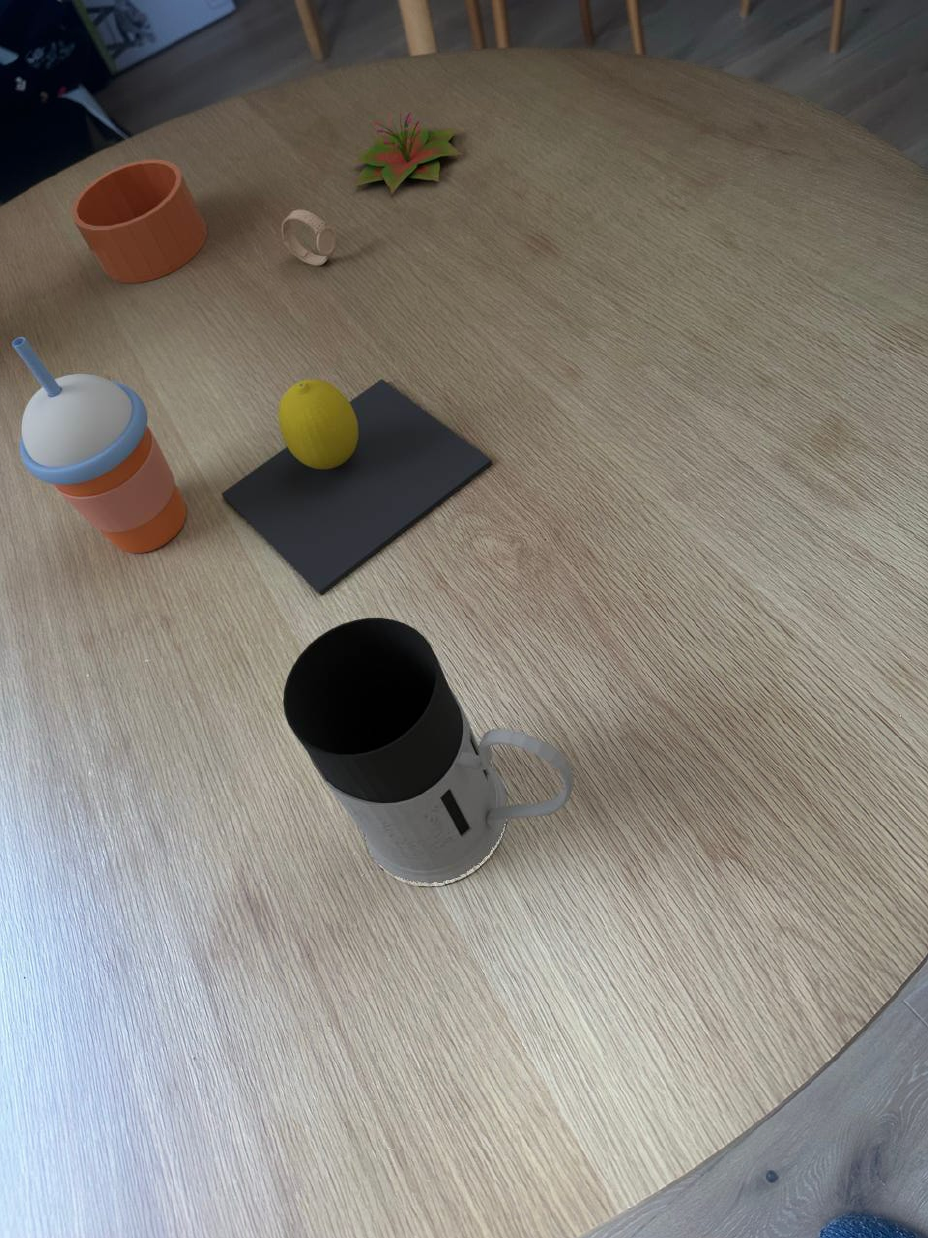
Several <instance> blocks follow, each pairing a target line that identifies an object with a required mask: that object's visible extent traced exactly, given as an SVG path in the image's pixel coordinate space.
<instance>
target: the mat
mask: <svg viewBox="0 0 928 1238" xmlns="http://www.w3.org/2000/svg"><path fill="white" fill-rule="evenodd" d="M349 403H350V405H351V406H352V409H353V411H354V413H355V416H356V419H357V422H358V441H357V445H356V448H355V450H354V452H353V453H352V455H351V456H350V457H349V458H348V460H347V461H346V462H344V463H343V464H341V465H339V466H337V467H335V468H331V469H315V468H312V467H309V466H307V465H305V464H303V463H302V462H300V461H299V460H298V459H297V458H296V457H295V456H294V455H293V454H292V453H291V452H290V450H289V448H288V447H287V446H286V447H285V448H283V449H282V450H280V451H279V452H277V453H276V454H274V455H273V456H272V457H270V458H269V459H267V460H266V461H265V462H263V463H261V465H259V466H258V467H257V468H255V469H254V470H252V471H251V472H250V473H248V474H247V475H245V476H244V477H243V478H241V479H239V480H238V481H237V482H236V483H234V484H233V485H232V486H230V487H229V488H227V489H226V490H224V491H222V493H221V496H222V497H223V499H224V500H226V502H228V504H229V505H230V506H231V507H233V509H234V510H235V511H236V512H237V513H238V514H239V515H240V516H241V517H242V518H243V519H244V520H245V521H246V522H247V524H249V525H250V526H251V527H252V528H253V529H254V530H255V531H256V532H257V533H258V534H259V535H260V536H261V538H263V539H264V540H265V541H266V542H267V543H268V544H269V546H271V547H272V548H273V549H274V550H275V551H276V552H277V553H278V554H279V555H280V556H281V557H282V558H283V559H284V560H285V561H286V562H287V563H288V565H290V566H291V567H292V569H294V570H295V571H296V572H297V573H298V574H299V575H300V577H301V578H303V579H304V580H305V581H306V583H308V584H309V586H310V587H311V588H312V589H313V590H314V591H315V592H316V593H318V595H319V596H322V595H324V594H325V593H326V592H328V591H329V590H330V589H332V588H333V587H334V586H335V585H338V584H339V582H341V581H342V580H344V579H345V578H346V577H348V576H349V575H350V574H352V572H354V571H356V569H358V568H359V567H360V566H362V565H363V564H365V563H366V562H367V561H369V560H370V559H371V558H372V557H373V556H375V555H376V554H377V553H378V552H380V551H382V550H383V549H384V548H385V547H387V546H388V545H389V544H390V543H392V542H393V541H394V540H396V539H397V538H398V537H399V536H401V535H402V534H403V533H405V532H406V531H407V530H409V529H410V528H411V527H413V526H414V525H415V524H416V523H418V522H419V521H420V520H421V519H423V518H424V517H426V516H427V515H428V514H430V513H431V512H432V511H434V510H435V509H436V508H437V507H439V506H440V505H441V504H442V503H444V502H445V501H447V500H448V499H449V498H451V496H453V495H455V494H456V493H457V492H458V491H459V490H461V489H462V488H463V487H465V486H466V485H467V484H468V483H470V482H471V481H473V480H474V479H475V478H476V477H478V475H480V474H481V473H482V472H484V471H486V470H487V469H488V468H490V467H491V466H492V465H493V462H492V459H491V458H489V457H488V456H487V455H486V454H485V453H483V452H481V451H480V450H479V449H477V448H476V447H475V446H473V445H472V444H471V443H469V442H468V441H467V440H465V439H464V438H462V437H461V436H460V435H458V434H457V433H456V432H454V431H453V430H451V429H450V428H449V427H448V426H446V425H445V424H444V423H442V422H441V421H439V420H438V419H437V418H436V417H434V416H433V415H431V414H430V413H428V412H427V411H426V410H424V409H423V408H422V407H421V406H419V405H418V404H416V403H415V402H414V401H413V400H411V399H409V398H408V397H407V396H405V394H403V393H402V392H400V391H399V390H398V389H396V388H395V387H394V386H392V385H391V384H389V382H386V381H385V380H384V379H382V378H381V379H379V380H378V381H377V382H375V383H373V385H371V386H369V387H368V388H367V389H366V390H364V391H363V392H361V393H360V394H358V395H357V396H356V397H354V398H352V399H351V400H350V401H349Z"/></svg>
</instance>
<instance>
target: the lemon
mask: <svg viewBox="0 0 928 1238" xmlns="http://www.w3.org/2000/svg"><path fill="white" fill-rule="evenodd" d="M349 402H350V401H349V400H348V399H347V397H346V396H345V395H344V393H342V392H341V390H340V389H338V388H337V386H335V385H334V384H332V383H330V382H329V381H326V380H322V379H319V378H318V379H317V378H314V379H312V378H308V379H303V380H301V381H298V382H296V383H294V384H293V385H291V387H289V388H288V389H287V390H286V391H285V393H284V394H283V396H282V398H281V399H280V402H279V406H278V410H277V411H278V412H277V413H278V415H277V418H278V424H279V430H280V434H281V437H282V439H283V441H284V444H285V445H286V447H288V448H289V450H290V452H291V453H292V454H293V455H294V456H295V457H296V458H297V459H298V460H299V461H300V462H302V463H303V464H305V465H307V466H309V467H312V468H315V469H331V468H335V467H337V466H339V465H341V464H343V463H344V462H346V461H347V460H348V458H349V457H350V456H351V455H352V453H353V452H354V450H355V448H356V445H357V441H358V422H357V419H356V416H355V413H354V411H353V409H352V406H351V405H350V403H349Z"/></svg>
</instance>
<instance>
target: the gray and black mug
mask: <svg viewBox="0 0 928 1238" xmlns="http://www.w3.org/2000/svg"><path fill="white" fill-rule="evenodd" d="M458 698H459V697H458V696H457V695H456V694H455V692H454V691H453V689H452V688H451V687H450V685H449V683H448V680H447V678H446V675H445V674H444V672H443V668H442V667H441V665H440V662H439V660H438V657H437V655H436V653H435V651H434V649H433V647H432V645H431V644H430V642H429V641H428V640H427V638H426V637H425V636H424V635H423V634H422V633H421V632H419V631H418V630H417V629H416V628H414V627H412V626H410V625H409V624H407V623H405V622H402V621H399V620H396V619H393V618H385V617H365V618H359V619H353V620H350V621H347V622H344V623H341V624H338V625H337V626H335V627H333V628H330V629H328V630H327V631H325V632H324V633H322V634H321V635H319V636H318V637H317V638H315V639H314V640H313V641H312V642H311V643H310V644H308V645H307V647H306V648H305V649H304V650H303V651H302V652H301V653H300V655H299V656H298V657H297V659H296V660H295V662H294V663H293V664H292V666H291V668H290V671H289V673H288V675H287V677H286V681H285V685H284V689H283V699H282V701H283V702H282V704H283V711H284V712H283V713H284V716H285V719H286V722H287V724H288V727H289V728H290V730H291V731H292V733H293V734H294V736H295V737H296V739H297V740H298V742H300V744H301V746H302V747H303V748H304V750H305V751H306V752H307V754H308V756H309V759H310V761H311V762H312V764H313V767H315V769H316V771H317V772H318V774H319V775H320V777H321V778H322V780H323V781H324V782H325V784H326V785H327V787H328V788H329V789H330V790H331V792H332V793H333V794H334V796H335V798H336V799H337V800H338V801H339V803H340V804H341V805H342V806H343V809H345V810H346V812H347V814H348V815H349V816H350V817H351V819H352V820H353V822H355V824H356V825H357V827H358V828H359V829H360V830H361V832H362V834H363V833H364V834H363V836H364V835H365V840H366V842H367V845H368V848H367V850H368V849H369V850H370V851H371V854H372V855H373V857H374V859H375V860H376V861H377V862H378V864H380V865H381V866H382V867H383V868H384V869H385V870H386V871H388V872H389V873H391V874H393V875H394V876H397V877H400V878H403V880H404V879H405V880H407V879H408V880H407V881H411V882H413V881H414V882H416V883H418V882H421V883H424V882H426V883H429V884H431V883H434V882H437V883H443V881H446V880H452V879H454V878H458V877H461V876H460V875H462V874H465V873H467V871H469V870H470V869H472V868H473V867H474V866H477V865H479V864H478V863H481V862H482V861H483V859H484V858H485V857H486V856H488V855H489V854H490V852H491V850H492V847H493V848H494V846H495V845H496V842H498V839H500V838H499V837H501V833H502V832H503V828H504V826H505V825H504V824H506V821H507V820H506V819H508V820H514V819H527V818H535V817H544V816H545V817H546V816H550V815H553V814H554V813H556V812H558V811H560V810H561V809H562V808H563V807H564V806H566V804H567V803H568V802H569V799H570V797H571V794H572V792H573V789H574V785H575V780H574V772H573V768H572V766H571V764H570V762H569V760H568V759H567V757H566V756H565V755H563V753H562V752H561V751H560V750H558V749H557V748H556V747H554V746H553V745H551V744H549V743H548V742H546V741H544V740H542V739H540V738H537V737H535V736H533V735H530V734H528V733H526V732H525V733H524V732H521V731H517V730H515V729H507V728H493V729H491V730H489V731H487V732H485V733H484V734H483V736H482V738H481V740H480V742H479V743H478V741H477V739H476V736H475V734H474V732H473V730H472V727H471V725H470V722H469V720H468V718H467V715H466V713H465V711H464V708H463V707H462V705H461V702H460V700H459V699H458ZM493 745H506V746H510V747H511V746H512V747H515V748H518V749H521V750H524V751H526V752H529V753H531V754H533V755H536V756H537V757H539V758H541V759H542V760H544V761H546V762H548V763H549V765H551V766H552V767H553V768H554V769H555V770H556V771H557V773H558V775H559V776H560V778H561V780H562V787H563V791H561V792H560V793H559V794H558V795H557V796H555V797H553V798H551V799H549V800H545V801H540V802H534V803H533V802H532V803H525V804H510V805H509V804H508V806H507V798H508V794H507V791H505V790H506V787H505V785H504V783H503V781H502V778H501V776H500V775H499V774H498V772H497V771H496V769H494V767H493V766H492V765H491V761H492V760H493V751H492V748H491V746H493ZM504 787H505V788H504ZM505 792H506V793H505ZM506 794H507V795H506ZM365 840H364V841H365ZM367 845H366V846H367ZM417 881H418V882H417Z"/></svg>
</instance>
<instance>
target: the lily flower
mask: <svg viewBox="0 0 928 1238" xmlns="http://www.w3.org/2000/svg"><path fill="white" fill-rule="evenodd" d="M399 112H400V113H399V119H400V120H399V121H400V122H399V123H400V129H401V130H400V132H398V130H397V129H398V128H397V127H396V125H395V123H394V121H393V119H392V116H391V115H390V114H389V113H388V114H387V115H388V117H389V119H390V120H391V122H392V124H393V126H394V129H395V131H394V129H393V127H392V126H391V124H390V123H388V126H389V128H388V127H387V126H385V125H383V124H382V123H381V122H378V121H374V124H375V125H378V126H381V127H383V128H384V129H385V130H387V131H385V130H383V129H377V130H376V132H377V133H376V135H375V136H376V137H375V140H374V142H373V146H370V147H369V148H368V149H366V151H364V152H363V153H362V154H360V156H359V157H358V158H356V159H355V160H353V161H352V163H363V164H366V165H368V166H366V167H365V168H364V169H363V170H362V171H360V174H359V175H358V176H357V178H356V182H354V184H353V185H352V188H353V187H357V186H360V185H364V184H369V183H373V182H378V181H383V180H384V182H385V184H386V185H387V187H388V188H390V193H391V194H393V193H394V192H395V191H396V190H397V188H398V187H399V186H400V185H401V183H402V182H404V180H405V179H406V178H410V179H417V180H418V179H419V180H425V181H435V182H440V180H439V178H440V169H441V166H440V165H441V164H440V162H439V160H437V159H438V158H440V157H447V156H455V155H463V153H462V152H461V151H459V150H458V149H457V148H456V147H453V145H452V144H451V142H449V141H450V140H451V139H452V137H453V136H454V135H455V134H456V132H457V131H458V130H459V129H460V127H455V128H447V129H445V128H441V129H440V128H439V129H436V130H435V129H434V130H432V131H430V132H429V130H428V128H427V127H425V126H424V125H422V124H421V123H420V120H417V121H416V123H415V124H414V126H412V127H411V128H410V127H409V125H410V124H411V123H412V121H413V118H412V117H411V118H410V116H411V111H409V112H408V114H407V115H406V118H404V129H403V125H402V111H401V110H400V111H399ZM378 133H380V134H378ZM381 133H384V134H381Z"/></svg>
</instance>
